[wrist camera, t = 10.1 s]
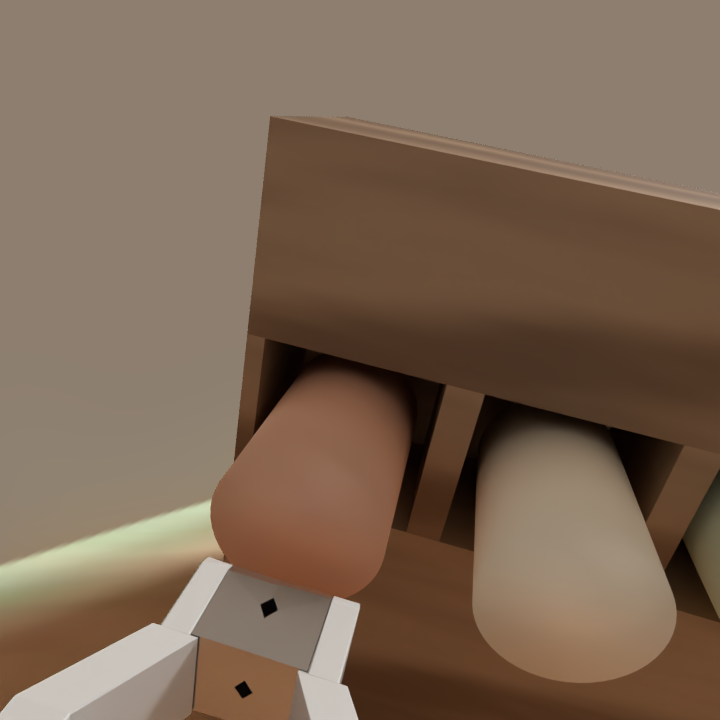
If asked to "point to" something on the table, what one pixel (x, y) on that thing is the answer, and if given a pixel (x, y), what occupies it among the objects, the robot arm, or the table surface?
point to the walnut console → (495, 379)
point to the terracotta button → (320, 479)
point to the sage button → (707, 542)
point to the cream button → (564, 552)
